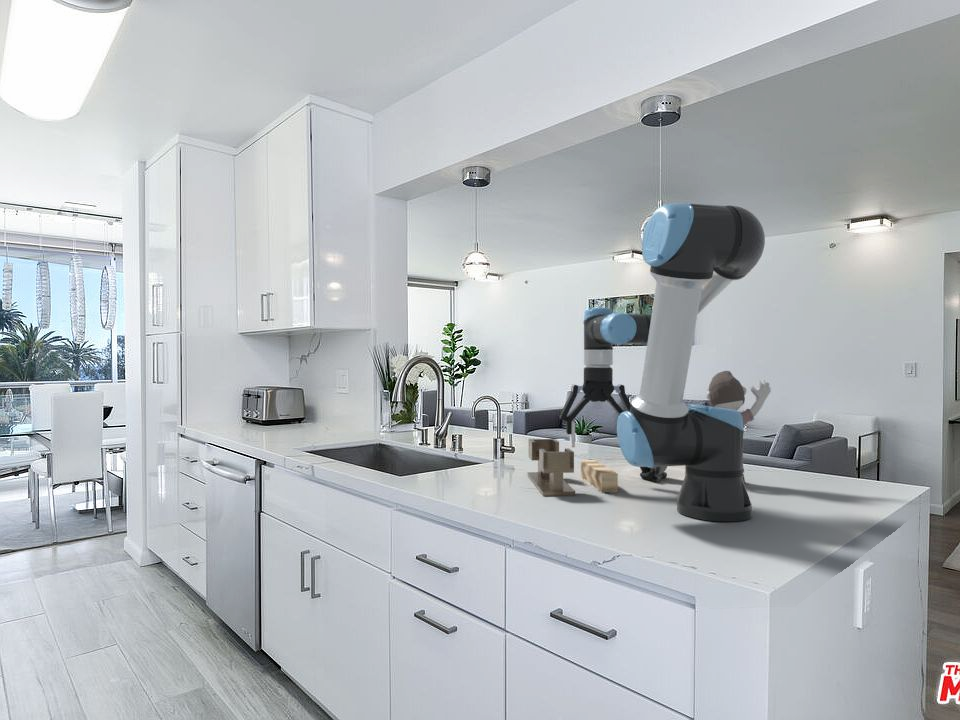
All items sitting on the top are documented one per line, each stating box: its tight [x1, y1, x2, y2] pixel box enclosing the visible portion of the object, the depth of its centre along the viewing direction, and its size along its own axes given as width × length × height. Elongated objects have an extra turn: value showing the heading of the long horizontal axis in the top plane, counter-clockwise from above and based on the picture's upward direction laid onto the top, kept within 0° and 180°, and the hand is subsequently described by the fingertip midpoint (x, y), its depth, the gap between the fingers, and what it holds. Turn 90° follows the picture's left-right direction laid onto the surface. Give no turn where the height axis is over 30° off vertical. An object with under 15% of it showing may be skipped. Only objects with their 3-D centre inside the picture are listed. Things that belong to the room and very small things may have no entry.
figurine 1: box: [639, 466, 668, 482], centre depth 167 cm, size 10×10×15 cm
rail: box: [580, 459, 619, 493], centre depth 161 cm, size 20×4×5 cm, turn 6°
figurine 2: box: [705, 370, 772, 485], centre depth 163 cm, size 18×9×30 cm, turn 84°
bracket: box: [526, 438, 576, 497], centre depth 160 cm, size 25×8×10 cm, turn 4°
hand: (597, 446), depth 161 cm, fingers open, 13 cm apart
